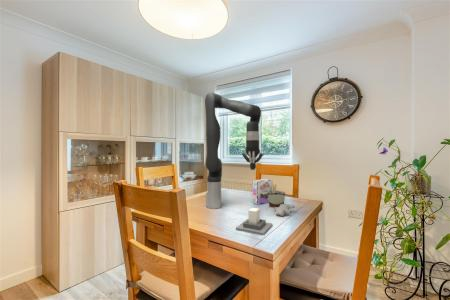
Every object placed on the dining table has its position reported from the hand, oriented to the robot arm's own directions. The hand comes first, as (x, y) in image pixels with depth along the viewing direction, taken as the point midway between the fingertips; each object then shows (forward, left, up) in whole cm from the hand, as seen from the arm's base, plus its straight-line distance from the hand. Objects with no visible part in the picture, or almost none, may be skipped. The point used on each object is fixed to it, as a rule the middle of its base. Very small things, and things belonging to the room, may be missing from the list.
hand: (252, 169), depth 125 cm
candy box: (-5, +31, -27) cm, 42 cm away
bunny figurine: (+14, +13, -27) cm, 34 cm away
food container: (+6, +26, -27) cm, 38 cm away
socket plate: (+7, -16, -27) cm, 32 cm away
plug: (+7, -16, -26) cm, 31 cm away
